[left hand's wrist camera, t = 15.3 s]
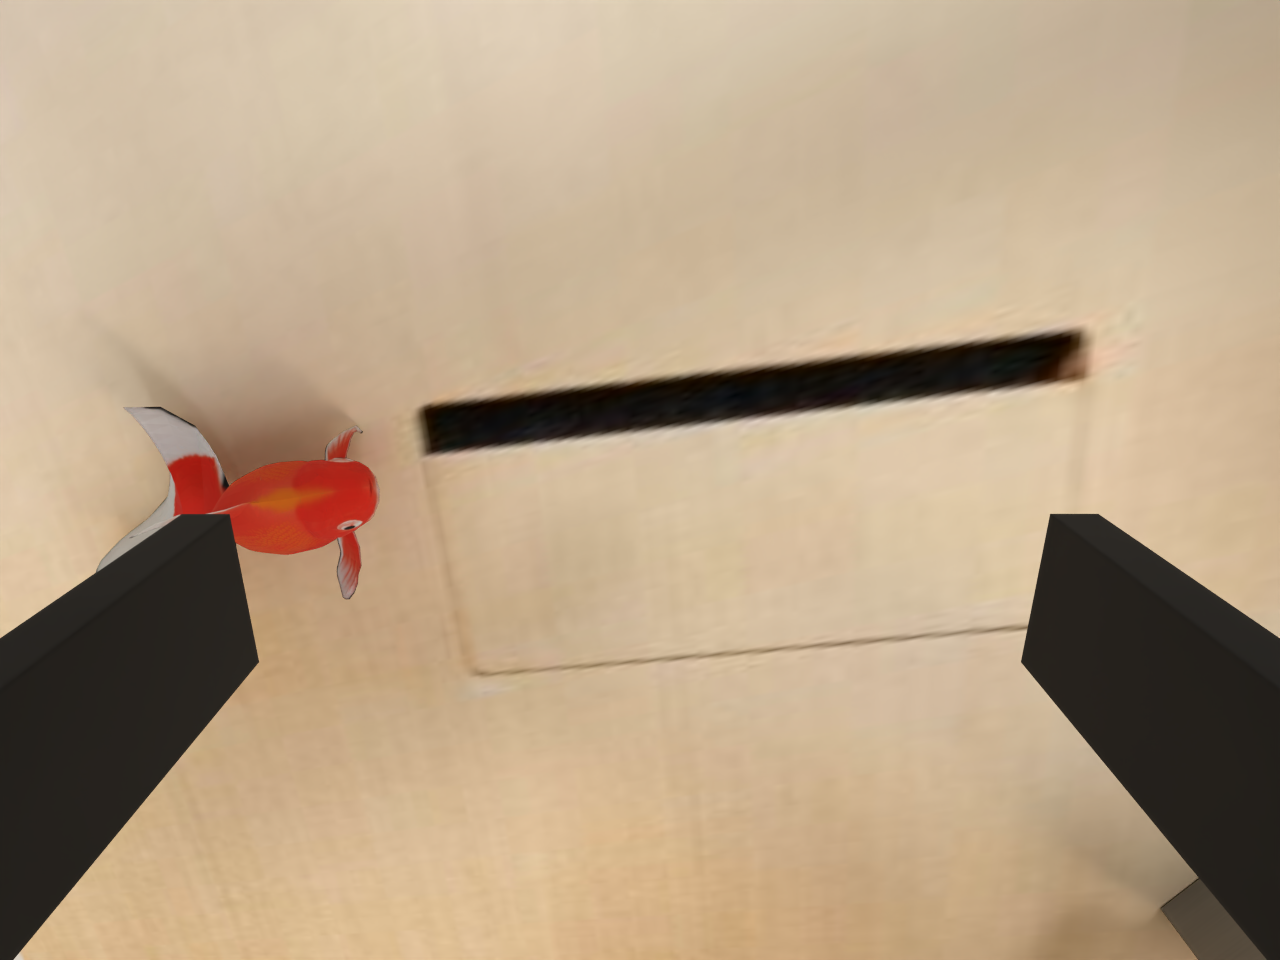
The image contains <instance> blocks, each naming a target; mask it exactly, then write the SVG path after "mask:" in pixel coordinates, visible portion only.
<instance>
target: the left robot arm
mask: <svg viewBox="0 0 1280 960" xmlns="http://www.w3.org/2000/svg"><path fill="white" fill-rule="evenodd" d="M258 663H259V660H258V655H257V650H256V645H255V640H254V635H253V629H252V624H251V619H250V614H249V609H248V604H247V599H246V594H245V589H244V584H243V579H242V574H241V569H240V564H239V559H238V554H237V549H236V543H235V538H234V533H233V528H232V523H231V518H230V514H181V515H180V516H178V517H177V518H175V519H174V520H172V521H171V522H169V523H168V524H167V525H165V526H164V527H162V528H161V529H159V530H158V531H156V532H155V533H153V534H152V535H150V536H149V537H148V538H146V539H145V540H143V541H142V542H140V543H139V544H137V545H136V546H134V547H133V548H131V549H130V550H129V551H127V552H126V553H124V554H123V555H121V556H120V557H118V558H117V559H115V560H114V561H113V562H111V563H110V564H108V565H107V566H105V567H104V568H102V569H101V570H99V571H98V572H96V573H95V574H94V575H92V576H91V577H89V578H88V579H86V580H85V581H83V582H82V583H80V584H79V585H77V586H76V587H75V588H73V589H72V590H70V591H69V592H67V593H66V594H64V595H63V596H61V597H60V598H59V599H57V600H56V601H54V602H53V603H51V604H50V605H48V606H47V607H45V608H44V609H42V610H41V611H40V612H38V613H37V614H35V615H34V616H32V617H31V618H29V619H28V620H26V621H25V622H23V623H22V624H21V625H19V626H18V627H16V628H15V629H13V630H12V631H10V632H9V633H7V634H6V635H4V636H3V637H2V638H0V960H14V958H15V957H16V956H17V955H18V953H19V952H20V951H21V950H22V949H23V947H24V946H25V945H26V944H27V943H28V941H29V940H30V939H31V938H32V937H33V935H34V934H35V933H36V932H37V930H38V929H39V928H40V927H41V926H42V924H43V923H44V922H45V921H46V920H47V918H48V917H49V916H50V915H51V913H52V912H53V911H54V910H55V909H56V907H57V906H58V905H59V904H60V903H61V901H62V900H63V899H64V898H65V897H66V895H67V894H68V893H69V892H70V890H71V889H72V888H73V887H74V886H75V884H76V883H77V882H78V881H79V880H80V878H81V877H82V876H83V875H84V873H85V872H86V871H87V870H88V869H89V867H90V866H91V865H92V864H93V863H94V861H95V860H96V859H97V858H98V857H99V855H100V854H101V853H102V852H103V850H104V849H105V848H106V847H107V846H108V844H109V843H110V842H111V841H112V840H113V838H114V837H115V836H116V835H117V833H118V832H119V831H120V830H121V829H122V827H123V826H124V825H125V824H126V823H127V821H128V820H129V819H130V818H131V817H132V815H133V814H134V813H135V812H136V810H137V809H138V808H139V807H140V806H141V804H142V803H143V802H144V801H145V800H146V798H147V797H148V796H149V795H150V793H151V792H152V791H153V790H154V789H155V787H156V786H157V785H158V784H159V783H160V781H161V780H162V779H163V778H164V777H165V775H166V774H167V773H168V772H169V770H170V769H171V768H172V767H173V766H174V764H175V763H176V762H177V761H178V760H179V758H180V757H181V756H182V755H183V753H184V752H185V751H186V750H187V749H188V747H189V746H190V745H191V744H192V743H193V741H194V740H195V739H196V738H197V737H198V735H199V734H200V733H201V732H202V730H203V729H204V728H205V727H206V726H207V724H208V723H209V722H210V721H211V720H212V718H213V717H214V716H215V715H216V713H217V712H218V711H219V710H220V709H221V707H222V706H223V705H224V704H225V703H226V701H227V700H228V699H229V698H230V696H231V695H232V694H233V693H234V692H235V690H236V689H237V688H238V687H239V686H240V684H241V683H242V682H243V681H244V680H245V678H246V677H247V676H248V675H249V673H250V672H251V671H252V670H253V669H254V667H255V666H256V665H257V664H258ZM1021 663H1022V664H1023V665H1024V666H1025V667H1026V669H1027V670H1028V671H1029V672H1030V673H1031V675H1032V676H1033V677H1034V678H1035V680H1036V681H1037V682H1038V683H1039V684H1040V686H1041V687H1042V688H1043V689H1044V690H1045V692H1046V693H1047V694H1048V695H1049V697H1050V698H1051V699H1052V700H1053V701H1054V703H1055V704H1056V705H1057V706H1058V707H1059V709H1060V710H1061V711H1062V712H1063V713H1064V715H1065V716H1066V717H1067V718H1068V720H1069V721H1070V722H1071V723H1072V724H1073V726H1074V727H1075V728H1076V729H1077V730H1078V732H1079V733H1080V734H1081V735H1082V737H1083V738H1084V739H1085V740H1086V741H1087V743H1088V744H1089V745H1090V746H1091V747H1092V749H1093V750H1094V751H1095V752H1096V753H1097V755H1098V756H1099V757H1100V758H1101V760H1102V761H1103V762H1104V763H1105V764H1106V766H1107V767H1108V768H1109V769H1110V770H1111V772H1112V773H1113V774H1114V775H1115V777H1116V778H1117V779H1118V780H1119V781H1120V783H1121V784H1122V785H1123V786H1124V787H1125V789H1126V790H1127V791H1128V792H1129V793H1130V795H1131V796H1132V797H1133V798H1134V800H1135V801H1136V802H1137V803H1138V804H1139V806H1140V807H1141V808H1142V809H1143V810H1144V812H1145V813H1146V814H1147V815H1148V817H1149V818H1150V819H1151V820H1152V821H1153V823H1154V824H1155V825H1156V826H1157V827H1158V829H1159V830H1160V831H1161V832H1162V833H1163V835H1164V836H1165V837H1166V838H1167V840H1168V841H1169V842H1170V843H1171V844H1172V846H1173V847H1174V848H1175V849H1176V850H1177V852H1178V853H1179V854H1180V855H1181V857H1182V858H1183V859H1184V860H1185V861H1186V863H1187V864H1188V865H1189V866H1190V867H1191V869H1192V870H1193V871H1194V872H1195V873H1196V875H1197V876H1198V877H1199V878H1200V880H1201V881H1202V882H1203V883H1204V884H1205V886H1206V887H1207V888H1208V889H1209V890H1210V892H1211V893H1212V894H1213V895H1214V897H1215V898H1216V899H1217V900H1218V901H1219V903H1220V904H1221V905H1222V906H1223V907H1224V909H1225V910H1226V911H1227V912H1228V913H1229V915H1230V916H1231V917H1232V918H1233V920H1234V921H1235V922H1236V923H1237V924H1238V926H1239V927H1240V928H1241V929H1242V930H1243V932H1244V933H1245V934H1246V935H1247V937H1248V938H1249V939H1250V940H1251V941H1252V943H1253V944H1254V945H1255V946H1256V947H1257V949H1258V950H1259V951H1260V952H1261V953H1262V955H1263V956H1264V957H1265V958H1266V960H1280V638H1278V637H1277V636H1275V635H1274V634H1273V633H1271V632H1270V631H1268V630H1267V629H1265V628H1264V627H1262V626H1261V625H1259V624H1258V623H1257V622H1255V621H1254V620H1252V619H1251V618H1249V617H1248V616H1246V615H1245V614H1243V613H1242V612H1240V611H1239V610H1238V609H1236V608H1235V607H1233V606H1232V605H1230V604H1229V603H1227V602H1226V601H1224V600H1223V599H1221V598H1220V597H1219V596H1217V595H1216V594H1214V593H1213V592H1211V591H1210V590H1208V589H1207V588H1205V587H1204V586H1203V585H1201V584H1200V583H1198V582H1197V581H1195V580H1194V579H1192V578H1191V577H1189V576H1188V575H1186V574H1185V573H1184V572H1182V571H1181V570H1179V569H1178V568H1176V567H1175V566H1173V565H1172V564H1170V563H1169V562H1167V561H1166V560H1165V559H1163V558H1162V557H1160V556H1159V555H1157V554H1156V553H1154V552H1153V551H1151V550H1150V549H1149V548H1147V547H1146V546H1144V545H1143V544H1141V543H1140V542H1138V541H1137V540H1135V539H1134V538H1132V537H1131V536H1130V535H1128V534H1127V533H1125V532H1124V531H1122V530H1121V529H1119V528H1118V527H1116V526H1115V525H1113V524H1112V523H1111V522H1109V521H1108V520H1106V519H1105V518H1103V517H1102V516H1100V515H1099V514H1050V518H1049V523H1048V528H1047V533H1046V538H1045V543H1044V549H1043V554H1042V559H1041V564H1040V569H1039V574H1038V579H1037V584H1036V589H1035V594H1034V599H1033V604H1032V609H1031V614H1030V619H1029V624H1028V629H1027V635H1026V640H1025V645H1024V650H1023V655H1022V660H1021Z"/></svg>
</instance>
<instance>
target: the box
mask: <svg viewBox="0 0 1280 960" xmlns="http://www.w3.org/2000/svg"><path fill="white" fill-rule="evenodd" d="M1161 910H1162V911H1163V913H1164V914H1165V915H1166V917H1167V918H1168V919H1169V921H1170V922H1171V923H1172V925H1173V926H1174V927H1175V929H1176V930H1177V932H1178V933H1179V934H1180V936H1181V937H1182V938H1183V940H1184V941H1185V942H1186V944H1187V945H1188V946H1189V948H1190V949H1191V951H1192V952H1193V953H1194V955H1195V956H1196V957H1197V959H1198V960H1266V958H1265V957H1264V956H1263V955H1262V953H1261V952H1260V951H1259V950H1258V949H1257V947H1256V946H1255V945H1254V944H1253V943H1252V941H1251V940H1250V939H1249V938H1248V937H1247V935H1246V934H1245V933H1244V932H1243V930H1242V929H1241V928H1240V927H1239V926H1238V924H1237V923H1236V922H1235V921H1234V920H1233V918H1232V917H1231V916H1230V915H1229V913H1228V912H1227V911H1226V910H1225V909H1224V907H1223V906H1222V905H1221V904H1220V903H1219V901H1218V900H1217V899H1216V898H1215V897H1214V895H1213V894H1212V893H1211V892H1210V890H1209V889H1208V888H1207V887H1206V886H1205V884H1204V883H1203V882H1202V881H1201V880H1200V878H1199V879H1198V880H1197V881H1196V882H1194V883H1193V884H1192V885H1190V886H1189V887H1188V888H1187V889H1185V890H1184V891H1183V892H1181V893H1180V894H1179V895H1177V896H1176V897H1175V898H1174V899H1172V900H1171V901H1170V902H1168V903H1167V904H1166V905H1165V906H1163V907H1162V908H1161Z"/></svg>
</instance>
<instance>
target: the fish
mask: <svg viewBox="0 0 1280 960" xmlns="http://www.w3.org/2000/svg"><path fill="white" fill-rule="evenodd" d="M123 408H124V409H125V410H127V411H128V412H129V413H130V414H131V415H132V416H133V417H134V418H135V419H136V420H137V421H138V422H139V424H140V425H141V426H142V427H143V429H144V430H145V431H146V432H147V434H148V435H149V437H150V438H151V439H152V441H153V442H154V444H155V445H156V447H157V448H158V450H159V452H160V453H161V455H162V457H163V459H164V461H165V462H166V464H167V467H168V469H169V471H170V487H169V493H168V497H167V498H166V499H165V500H164V501H163V503H162V504H161V505H160V506H159V507H158V508H157V509H156V510H155V511H154V513H153V514H152V515H151V516H150V517H149V518H148V519H147V520H145V521H144V522H143V523H141V524H140V525H139V526H137V527H136V528H135V529H133V530H132V531H131V532H130V533H128V534H127V535H126V536H125V537H124V538H122V539H121V540H120V541H119V542H118V543H117V544H116V545H115V546H114V547H113V548H112V549H111V550H110V551H109V552H108V554H107V555H106V556H105V557H104V558H103V559H102V560H101V562H100V564H99V566H98V568H97V570H96V572H98V571H99V570H101V569H102V568H104V567H105V566H107V565H108V564H110V563H111V562H113V561H114V560H115V559H117V558H118V557H120V556H121V555H123V554H124V553H126V552H127V551H129V550H130V549H131V548H133V547H134V546H136V545H137V544H139V543H140V542H142V541H143V540H145V539H146V538H148V537H149V536H150V535H152V534H153V533H155V532H156V531H158V530H159V529H161V528H162V527H164V526H165V525H167V524H168V523H169V522H171V521H172V520H174V519H175V518H177V517H178V516H180V515H181V514H230V518H231V523H232V528H233V533H234V538H235V543H237V544H239V545H241V546H243V547H245V548H247V549H249V550H253V551H257V552H264V553H273V554H285V555H288V554H295V553H299V552H303V551H308V550H312V549H316V548H320V547H323V546H325V545H327V544H328V543H330V542H332V541H333V540H335V539H338V544H339V547H340V551H341V552H340V558H339V562H338V566H337V577H338V580H339V584H340V588H341V591H342V595H343V598H345V599H350V598H351V596H352V595H353V594H354V592H355V590H356V587H357V584H358V574H359V571H360V568H361V555H360V546H359V544H358V541H357V538H356V535H355V533H354V531H355V530H356V529H357V528H359V527H360V526H362V525H363V524H365V523H366V522H368V521H369V520H370V519H371V518H372V517H373V516H374V513H375V511H376V508H377V506H378V503H379V493H380V489H379V486H378V483H377V479H376V477H375V476H374V474H373V473H372V472H371V470H370V469H369V468H368V467H367V466H365V465H363V464H362V463H360V462H357V461H353V460H351V459H348V458H346V456H347V451H348V448H349V445H350V441H351V437H352V435H353V433H354V432H356V431H358V432H360V433H362V432H363V431H362V430H361V429H360V428H358V427H357V426H354V427H352V428H350V429H347V430H345V431H343V432H341V433H340V434H339V435H338V436H336V437H335V438H334V439H333V440H331V441H330V443H329V444H328V445H327V446H326V450H325V460H315V461H309V462H307V461H290V462H279V463H274V464H269V465H266V466H263V467H260V468H258V469H256V470H254V471H252V472H250V473H248V474H246V475H245V476H243V477H241V478H239V479H238V480H236V481H235V482H233V483H232V484H231V485H230V486H229V485H228V482H227V480H226V477H225V475H224V472H223V470H222V468H221V465H220V463H219V461H218V458H217V456H216V454H215V453H214V451H213V450H212V448H211V447H210V445H209V444H208V442H207V441H206V440H205V438H204V437H203V436H202V434H201V433H200V432H199V430H198V429H197V428H196V427H195V426H194V425H193V424H191V423H189V422H187V421H185V420H183V419H182V418H180V417H178V416H176V415H174V414H172V413H171V412H169V411H167V410H165V409H163V408H161V407H123Z"/></svg>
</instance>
